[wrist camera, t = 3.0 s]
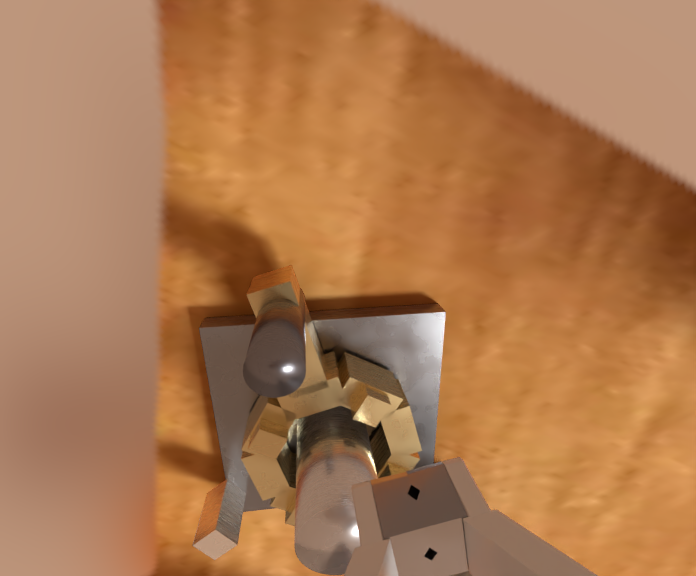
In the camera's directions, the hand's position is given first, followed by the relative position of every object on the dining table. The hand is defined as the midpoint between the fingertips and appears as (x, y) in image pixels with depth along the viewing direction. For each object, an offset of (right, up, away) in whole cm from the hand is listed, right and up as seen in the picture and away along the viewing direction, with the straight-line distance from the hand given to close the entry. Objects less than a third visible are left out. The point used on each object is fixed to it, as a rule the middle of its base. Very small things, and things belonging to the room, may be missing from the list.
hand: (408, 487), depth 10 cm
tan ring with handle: (-4, -1, +16) cm, 16 cm away
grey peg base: (-3, -4, +18) cm, 19 cm away
